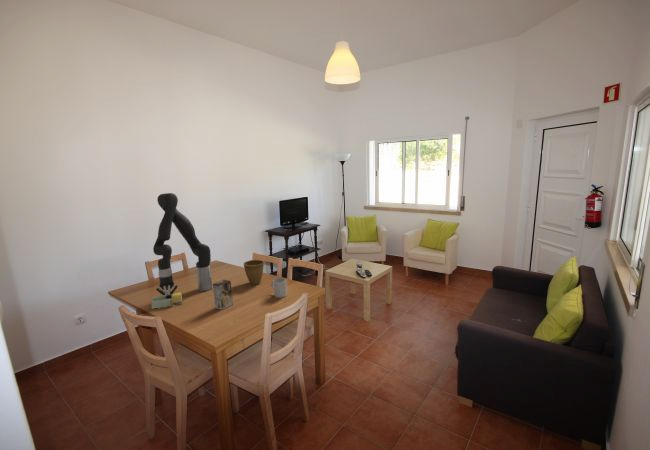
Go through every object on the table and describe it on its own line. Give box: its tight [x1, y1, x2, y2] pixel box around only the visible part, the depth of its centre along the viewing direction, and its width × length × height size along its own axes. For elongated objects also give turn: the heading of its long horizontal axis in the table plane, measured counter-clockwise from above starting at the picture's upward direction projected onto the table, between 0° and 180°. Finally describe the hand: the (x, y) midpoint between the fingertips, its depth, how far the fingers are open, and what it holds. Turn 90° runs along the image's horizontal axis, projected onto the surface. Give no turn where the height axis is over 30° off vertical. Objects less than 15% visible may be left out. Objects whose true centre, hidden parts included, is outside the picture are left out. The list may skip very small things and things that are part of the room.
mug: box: [271, 277, 288, 299], centre depth 214 cm, size 12×8×11 cm
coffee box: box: [212, 279, 234, 311], centre depth 197 cm, size 9×6×16 cm
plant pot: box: [243, 259, 265, 285], centre depth 236 cm, size 15×15×16 cm
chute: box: [150, 294, 183, 310], centre depth 204 cm, size 17×13×5 cm
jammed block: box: [172, 291, 183, 303], centre depth 206 cm, size 5×5×5 cm
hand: (168, 300), depth 204 cm, fingers closed
